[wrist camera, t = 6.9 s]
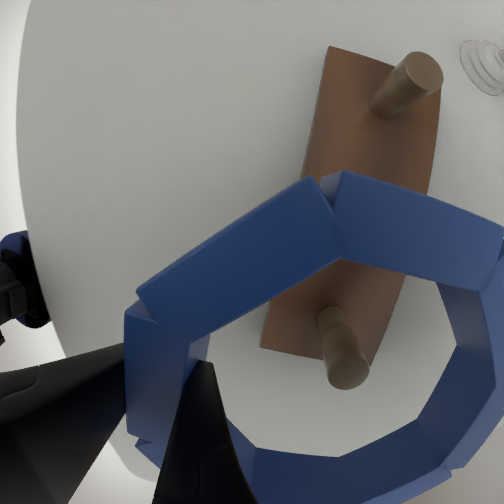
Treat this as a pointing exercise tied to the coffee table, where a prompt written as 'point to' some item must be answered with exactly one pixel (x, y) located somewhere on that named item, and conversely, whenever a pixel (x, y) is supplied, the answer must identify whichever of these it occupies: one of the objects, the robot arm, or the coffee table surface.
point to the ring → (297, 270)
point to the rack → (372, 165)
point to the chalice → (484, 65)
